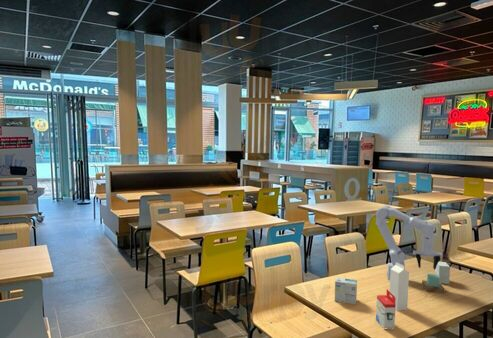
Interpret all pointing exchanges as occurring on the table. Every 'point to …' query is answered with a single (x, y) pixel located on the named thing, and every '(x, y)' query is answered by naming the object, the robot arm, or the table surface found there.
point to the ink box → (386, 310)
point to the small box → (443, 272)
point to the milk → (399, 286)
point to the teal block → (433, 280)
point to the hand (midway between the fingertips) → (426, 268)
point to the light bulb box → (345, 290)
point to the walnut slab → (433, 287)
